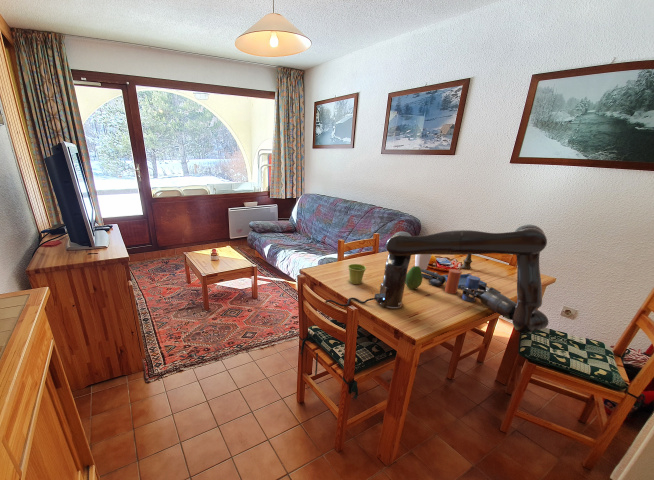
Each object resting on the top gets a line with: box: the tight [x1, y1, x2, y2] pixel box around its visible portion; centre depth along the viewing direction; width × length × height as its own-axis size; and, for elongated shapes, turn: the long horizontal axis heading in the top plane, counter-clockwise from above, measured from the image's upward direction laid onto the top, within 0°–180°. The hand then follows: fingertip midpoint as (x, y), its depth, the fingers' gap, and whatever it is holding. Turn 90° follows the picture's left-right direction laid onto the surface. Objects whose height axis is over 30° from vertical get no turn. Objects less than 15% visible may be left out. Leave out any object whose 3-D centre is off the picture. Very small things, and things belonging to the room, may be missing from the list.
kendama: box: [460, 254, 473, 270], centre depth 181 cm, size 6×10×20 cm, turn 28°
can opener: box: [421, 269, 447, 287], centre depth 165 cm, size 18×7×6 cm, turn 12°
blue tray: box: [442, 273, 488, 289], centre depth 164 cm, size 16×14×2 cm
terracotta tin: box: [444, 268, 462, 295], centre depth 152 cm, size 5×5×11 cm
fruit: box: [405, 265, 423, 290], centre depth 155 cm, size 8×8×12 cm
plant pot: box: [347, 263, 367, 285], centre depth 163 cm, size 9×9×9 cm
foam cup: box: [414, 254, 433, 270], centre depth 182 cm, size 10×9×13 cm
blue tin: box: [461, 275, 481, 303], centre depth 144 cm, size 5×5×11 cm
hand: (470, 286), depth 144 cm, fingers open, 8 cm apart
